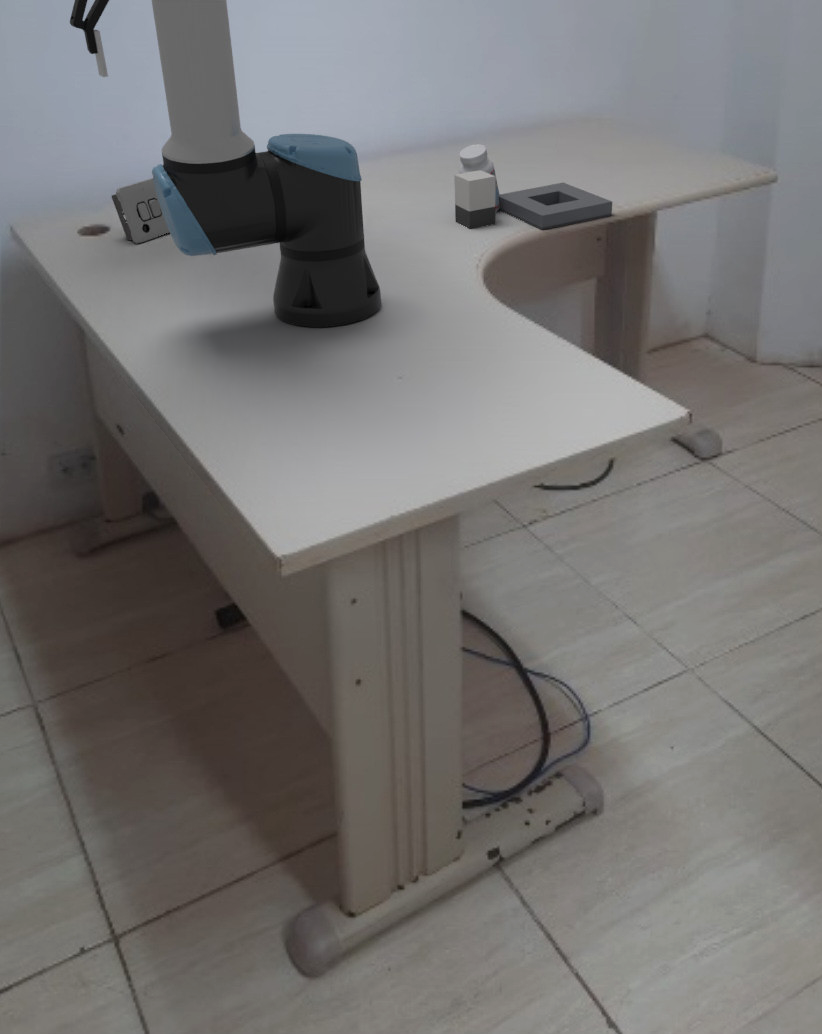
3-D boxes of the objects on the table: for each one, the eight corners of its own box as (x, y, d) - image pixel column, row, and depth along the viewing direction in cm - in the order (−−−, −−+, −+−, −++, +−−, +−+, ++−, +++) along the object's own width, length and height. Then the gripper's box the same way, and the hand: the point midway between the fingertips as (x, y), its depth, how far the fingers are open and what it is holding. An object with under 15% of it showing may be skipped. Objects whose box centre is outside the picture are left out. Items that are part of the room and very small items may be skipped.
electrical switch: (137, 245, 179) (123, 189, 175) (118, 243, 182) (105, 188, 178) (179, 231, 185) (167, 176, 181) (161, 229, 188) (148, 175, 184)
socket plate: (611, 215, 181) (612, 201, 179) (542, 230, 176) (542, 215, 174) (562, 195, 192) (563, 182, 191) (496, 208, 187) (496, 195, 186)
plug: (495, 224, 180) (495, 176, 176) (469, 229, 178) (468, 181, 174) (480, 217, 184) (480, 170, 180) (455, 222, 182) (454, 174, 178)
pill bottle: (467, 221, 187) (453, 163, 179) (469, 202, 191) (456, 145, 183) (501, 215, 185) (488, 157, 177) (503, 197, 189) (490, 139, 181)
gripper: (193, -89, 165) (213, 58, 176) (30, -77, 156) (62, 77, 167) (208, -89, 159) (228, 63, 170) (40, -76, 150) (72, 83, 161)
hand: (146, 70), depth 169 cm, fingers open, 13 cm apart
